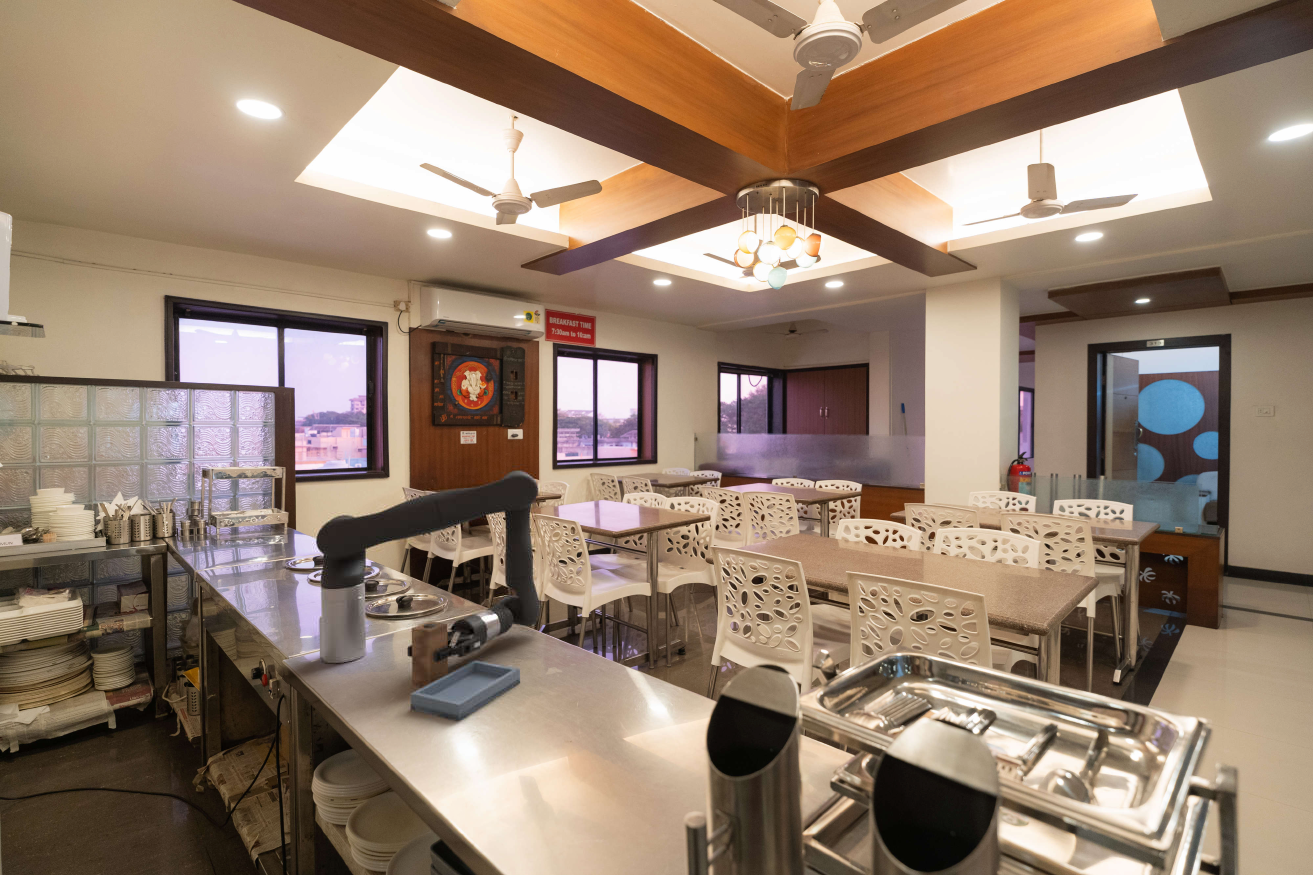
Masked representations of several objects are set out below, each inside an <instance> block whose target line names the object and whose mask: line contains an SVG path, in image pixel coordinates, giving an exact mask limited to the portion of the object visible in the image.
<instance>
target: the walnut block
mask: <svg viewBox="0 0 1313 875" xmlns="http://www.w3.org/2000/svg"><path fill="white" fill-rule="evenodd" d="M447 630H448V623H445V622H436V621H431V620H428V621H426V622H424V623H421V624H418V625H416V626H414V627H413V626H412V627H411V645H412V657H411V662H412V663H411V665H412V666H411V668H412V675H411V676H412V677H411V678H412V685H413V686H417V687H421V688H423V687H425V686H427V685H429V684H430V683H432V682H434V681H436V680H438V679H440V678H442V677H444V676H446V675H448V674H449V664H448V663H449V661H448V660H449V657H448V658H446V659H443V660H441V661H439V662H435V661H434V652H435V651H437V650H439V649H441V648H443V647H445V646H447Z"/></svg>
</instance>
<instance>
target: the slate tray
mask: <svg viewBox="0 0 1313 875" xmlns="http://www.w3.org/2000/svg"><path fill="white" fill-rule="evenodd" d="M517 684H518V685H519V684H521V669H520V668H518V667H517V668H516V667H513V666H507V665H502V664H496V663H492V662H485V661H480V660H473V661H470V662H469V663H468V664H465V665H464V666H461V667H460V668H457V669H456V670H453V671H451V672H450V673H448V675H446V676H444V677H442V678H440V679H438V680H436V681H434V682H432V683H430V684H429V685H427V686H425V687H421V688H419V689H417V690H415V691H413V692H411V693H410V710H411V711H416V712H417V711H418V712H421V713H426V714H429V715H433V716H438V717H442V718H445V719H450V720H454V721H457V722H460V721H462V720H464V719H465V718H467V717H468V716H470V715H472V714H473V713H475V712H476V711H479V710H480V709H482V707H484V706H486V705H487V704H489V703H491V702H492V701H494V700H495V699H497V698H498V696H499V697H500V696H501V694H502V695H503V694H505V693H506V692H507V691H509V689H510V690H511V689H513V688H515V687H516V686H517ZM496 697H497V698H496ZM494 698H495V699H494ZM493 699H494V700H493ZM490 701H491V702H490ZM488 702H489V703H488Z"/></svg>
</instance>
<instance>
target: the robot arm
mask: <svg viewBox="0 0 1313 875" xmlns="http://www.w3.org/2000/svg"><path fill="white" fill-rule="evenodd" d="M538 494H539V486H538V483H537V482H536V480H535V479H534V478H533V476H531V475H530V474H529V473H527V472H525V471H523V470H514V471H513V470H512V471H510V472H508V473H507V474H506V475H504V477H503V478H501V479H499V480H496V481H493V482H489V483H487V484H484V485H480V486H476V487H475V486H474V487H468V488H454V489H448V490H443V491H437V492H433V493H429V494H425V495H421V496H418V497H415V498H412V499H409V500H407V501H406V500H405V501H404V502H401V503H398V504H396V505H394V506H391V507H390V508H386V509H384V510H381V511H378V512H375V513H371V514H367V515H361V516H353V515H349V514H347V515H345V514H344V515H337V516H335V517H333V518H331V519H330V520H329V521H327V522H325V524H323V525H322V526H321V528H320V529H319V530H318V533H317V534H316V538H315V539H316V540H315V543H316V547H317V549H318V550H319V552H320V553H322V554H323V557H322V558H323V561H322V562H323V563H322V571H321V573H320V600H321V601H320V603H321V604H320V606H321V616H320V617H319V619H318V627H319V628H318V631H319V633H318V634H319V658H320V657H321V658H322V661H323V663H329V664H341V663H346V662H351V661H355V660H358V659H360V658H362V657H363V656H365V655H366V653H367V643H366V641H367V639H366V638H367V637H366V636H367V635H366V634H367V632H366V629H367V628H366V588H365V581H366V580H365V575H366V565H367V558H366V557H367V556H366V555H367V554H366V553H367V551H366V550H367V549H370V548H373V547H375V546H379V545H381V544H384V543H385V544H386V543H389V542H393V541H399V540H403V539H409V538H414V537H418V536H422V535H427V534H431V533H435V532H438V531H442V530H446V529H449V528H452V527H455V526H458V525H461V524H464V523H465V524H466V523H467V522H470V521H473V520H475V519H479V518H481V517H484V516H485V517H486V516H488V515H492V514H499V513H503V512H504V518H505V519H504V521H505V553H504V572H505V573H504V574H505V577H504V578H505V585H506V587H507V588H509V589H511V590H513V591H514V592H516V594H517V595H515V594H514V595H507V596H504V597H502V598H501V599H500V600H498V602H496V603H495V604H494V605H493V606H491V607H489V608H487V609H484V610H479V611H476V612H474V613H472V614H469V615H466V616H464V617H462V618H460V619H458V620H455V621H454V623H453V624H452V625H451V627H450V628H451V629H450V628H449V629H450V630H448V629H447V646H445V647H443V648H441V649H439V650H437V651H435V652H434V661H435V662H439V661H441V660H443V659H446V658H448V659H449V658H454V657H455V656H457V657H458V658H463V657H466V656H468V655H470V654H472V653H474V652H476V651H478V650H481V647H482V646H484V645H485V644H487V643H490V642H491V641H493V639H496V638H497V637H499V636H502V635H503V634H506V632H508V631H509V630H510V629H511V628H512V627H513V625H519V626H523V627H531V626H533V625H534V624H536V623H537V621H538V619H539V617H540V614H541V604H540V600H539V594H538V592H537V589H536V585H535V582H534V559H533V544H532V536H531V524H530V523H531V522H530V521H531V509H532V508H531V507H532V504H533V503H534V502H535V501H536V499H537V497H538ZM406 654H407V657H410V658H412V644H411V645H408V647H407V653H406Z"/></svg>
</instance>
